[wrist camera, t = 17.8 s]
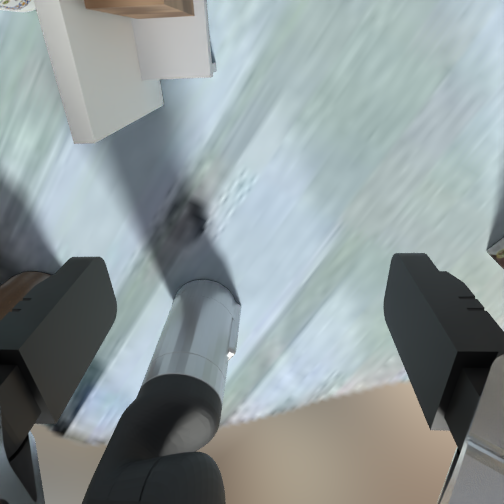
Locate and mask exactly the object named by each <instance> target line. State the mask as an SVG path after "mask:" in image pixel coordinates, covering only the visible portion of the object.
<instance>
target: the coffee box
mask: <svg viewBox="0 0 504 504" xmlns="http://www.w3.org/2000/svg"><path fill="white" fill-rule="evenodd" d="M487 253H488V254H489V255H490V256H491V257H492V258H493V259H494V260H495V261H496V262H497V263H498V264H499V265H500V266H501V267H502V268H503V269H504V238H502V239H501V240H500V241H498V242H497V243H496V244H494V245H493V246H492V247H490V248H489V249H488V250H487Z"/></svg>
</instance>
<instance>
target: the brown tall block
mask: <svg viewBox="0 0 504 504" xmlns="http://www.w3.org/2000/svg"><path fill="white" fill-rule="evenodd" d="M84 3H85V7H86V9H90V10H95V11H100V12H105V13H110V14H115V15H120V16H125V17H130V18H135V19H147V18H166V17H184V16H195V14H194V5H193V0H84Z"/></svg>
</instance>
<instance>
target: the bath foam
mask: <svg viewBox="0 0 504 504" xmlns="http://www.w3.org/2000/svg"><path fill="white" fill-rule="evenodd" d="M35 9H36V8H35V4H34V1H33V0H0V10H5V11H13V12H30V11H33V10H35Z"/></svg>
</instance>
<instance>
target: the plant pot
mask: <svg viewBox="0 0 504 504" xmlns="http://www.w3.org/2000/svg"><path fill="white" fill-rule="evenodd" d="M50 276H51V275H49V274H46V273H42V272H23V273H21V274H18V275H16V276H13V277H12V278H10V279H9V280H8V281H6V282H5V283H4V284H2V285H1V286H0V321H1V320H2V319H3V318H4V317H5V316H6V315H7V313H8V312H12V308H13V307H14V306H15V305H16V304H17V303H18V302H19V301H22V300H23V297H24V296H25V295H26V294H27V293H28V292H29V291H30V290H31V289H32V288H33V287H34V286H35V285H37V284H38V283H40V282H42V281H43V280H45V279H47V278H48V277H50Z"/></svg>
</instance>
